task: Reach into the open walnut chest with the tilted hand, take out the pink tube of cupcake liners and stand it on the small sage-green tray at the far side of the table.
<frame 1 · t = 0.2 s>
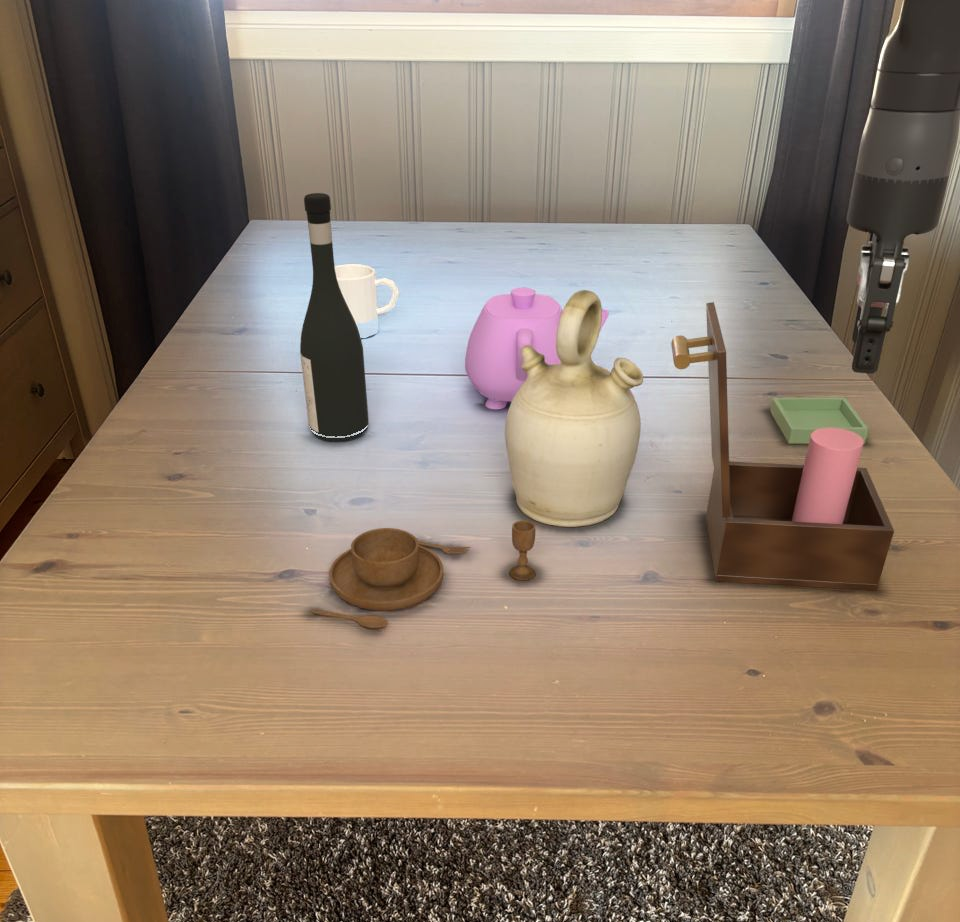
hand: (863, 356, 91), 23 cm above the table, tool pointing down, fingers open, 8 cm apart
chest lid: (699, 411, 99), point 16 cm above the table, hinge at 100.0°
tray: (816, 427, 133), on the table
place setting: (423, 592, 102), on the table
wine bottle: (339, 433, 132), on the table
jug: (567, 503, 117), on the table
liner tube: (811, 547, 107), point 1 cm above the table, touching chest
mug: (366, 333, 163), on the table
teapot: (534, 400, 141), on the table
chest: (786, 551, 108), on the table
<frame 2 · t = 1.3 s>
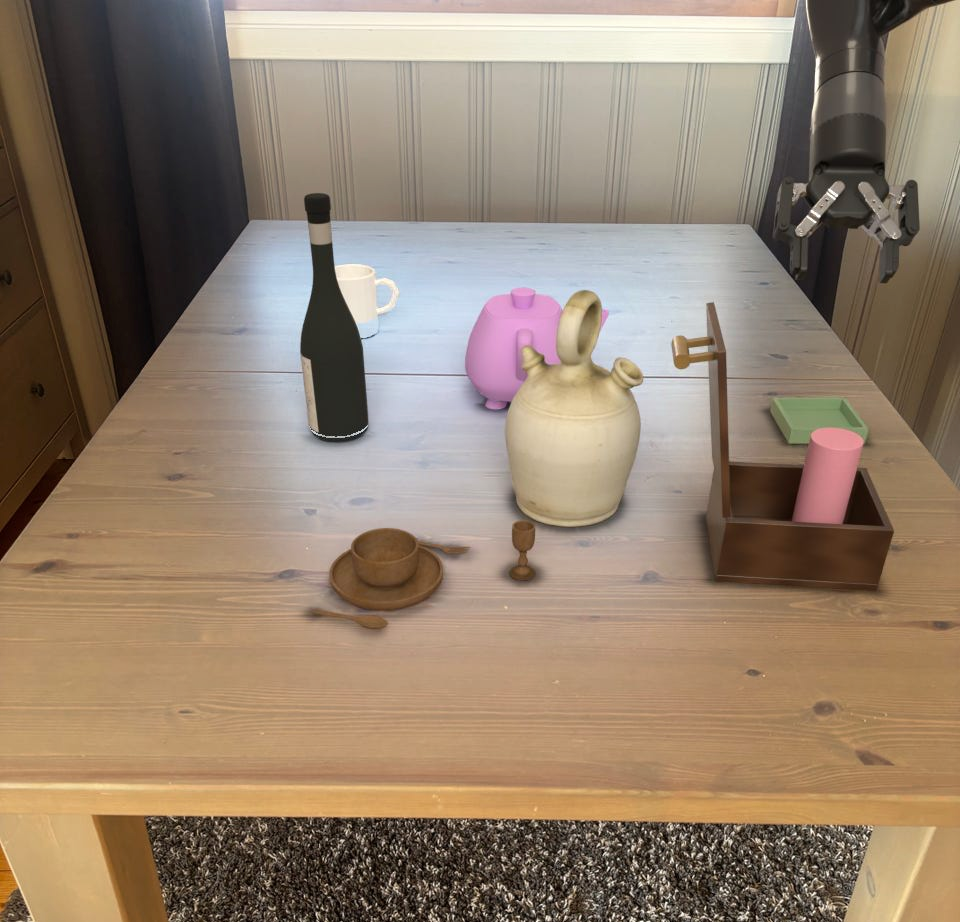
hand: (843, 278, 101), 26 cm above the table, tool tilted 45°, fingers open, 8 cm apart
nothing on the table moved.
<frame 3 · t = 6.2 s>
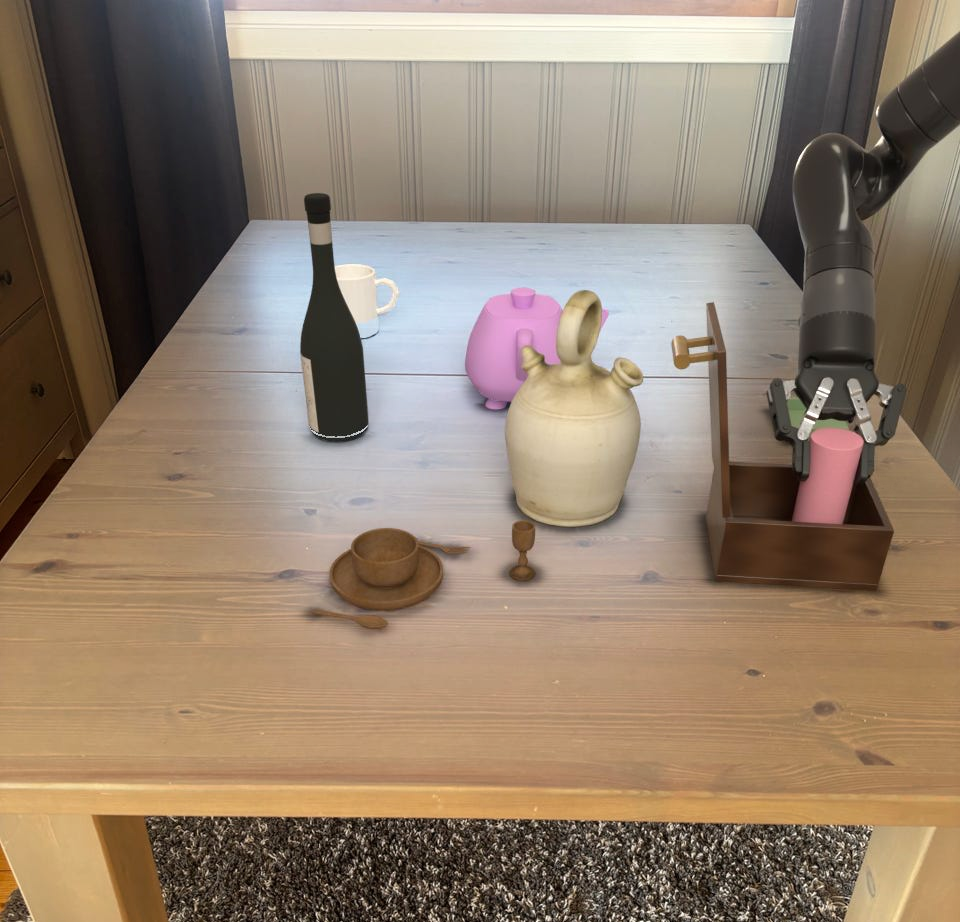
hand: (832, 480, 100), 10 cm above the table, tool tilted 45°, fingers closed on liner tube, 5 cm apart
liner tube: (811, 546, 107), point 1 cm above the table, touching chest, gripper
everything else where it was.
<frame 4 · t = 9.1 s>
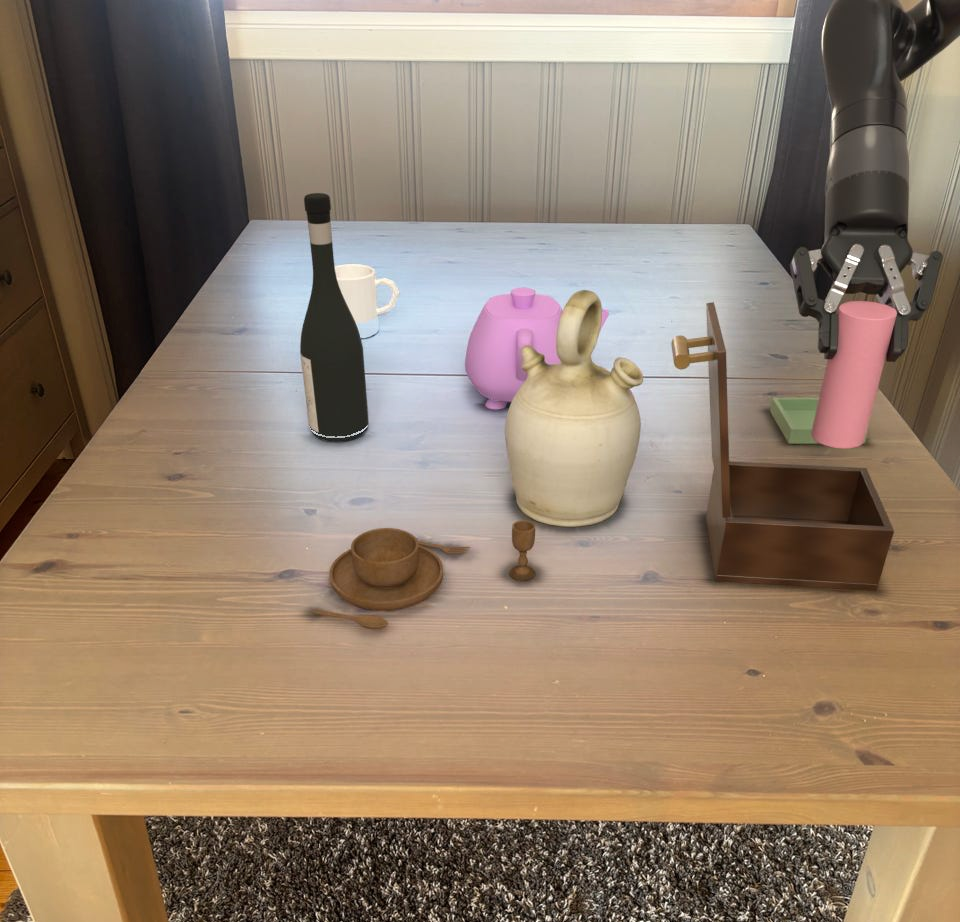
hand: (862, 356, 92), 23 cm above the table, tool tilted 45°, fingers closed on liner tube, 5 cm apart
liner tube: (837, 437, 99), point 14 cm above the table, touching gripper
everything else where it was.
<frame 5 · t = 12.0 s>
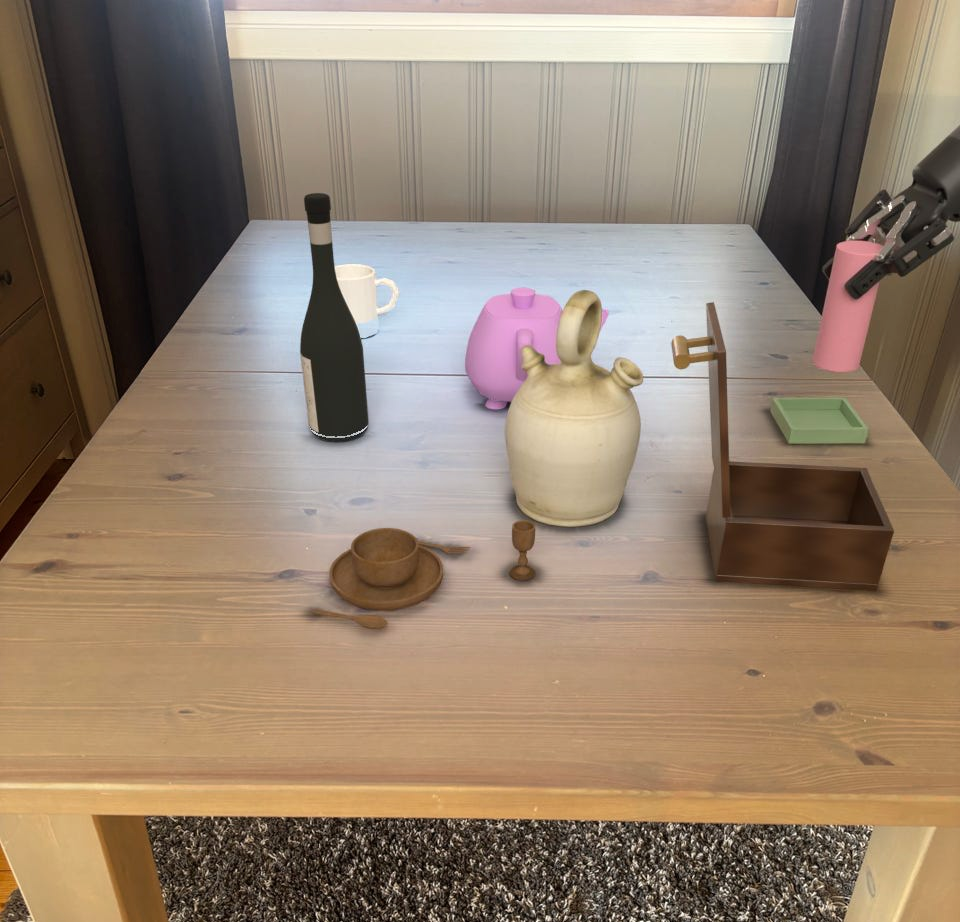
hand: (838, 284, 107), 24 cm above the table, tool tilted 45°, fingers closed on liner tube, 5 cm apart
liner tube: (835, 363, 113), point 15 cm above the table, touching gripper
everything else where it was.
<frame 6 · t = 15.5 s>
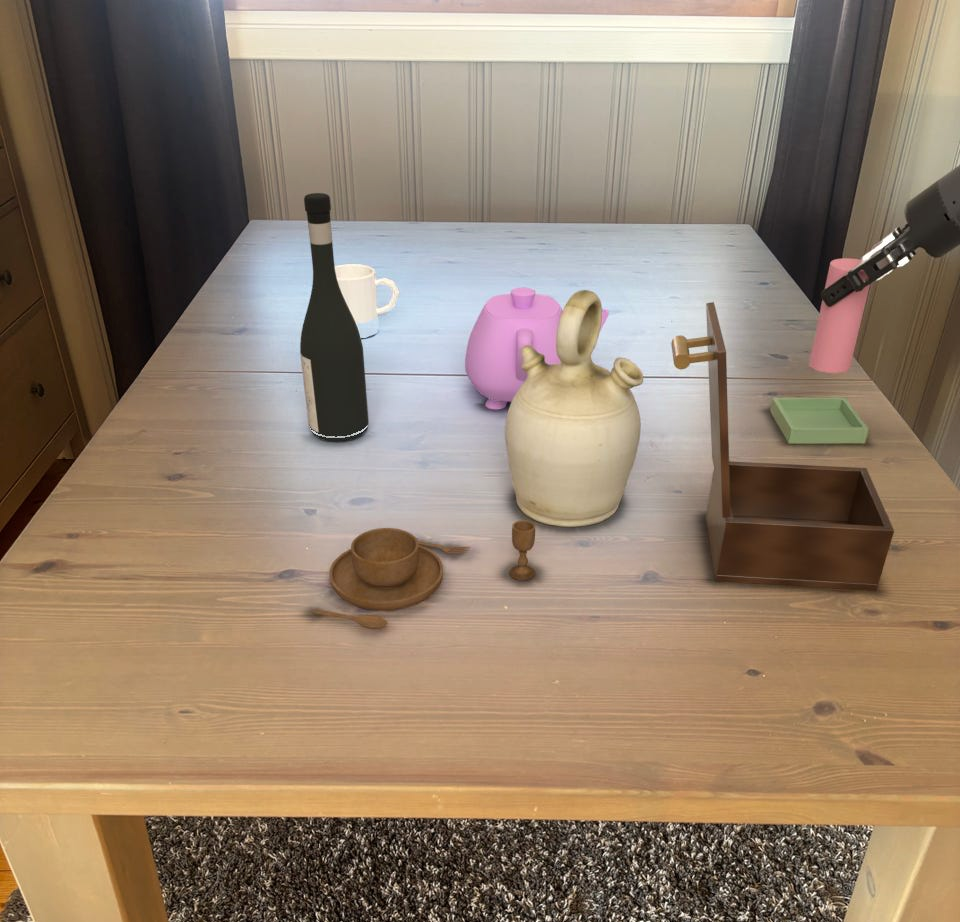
hand: (831, 293, 123), 18 cm above the table, tool tilted 45°, fingers closed on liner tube, 5 cm apart
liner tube: (829, 365, 128), point 9 cm above the table, touching gripper
everything else where it was.
when the fingers open (10 cm above the table, at t = 18.2 s): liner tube stays where it is, resting on tray.
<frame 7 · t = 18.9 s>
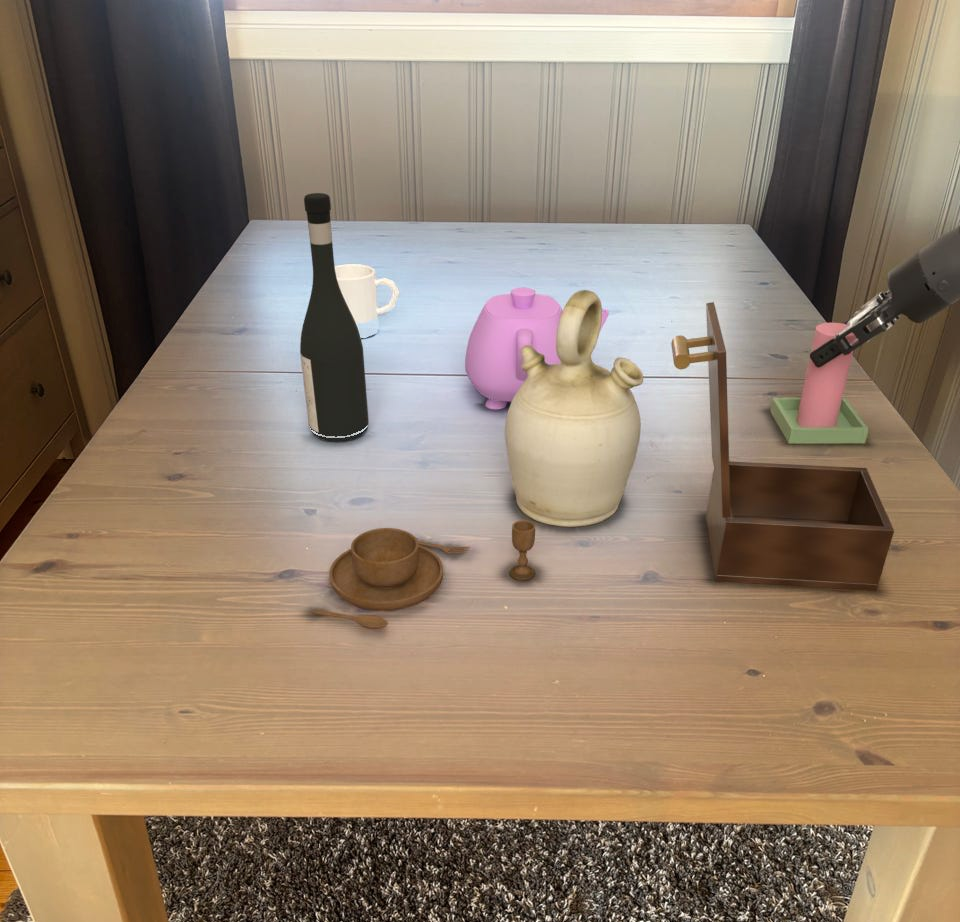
hand: (822, 350, 127), 10 cm above the table, tool tilted 45°, fingers open, 8 cm apart
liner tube: (815, 423, 133), resting on tray
everything else where it was.
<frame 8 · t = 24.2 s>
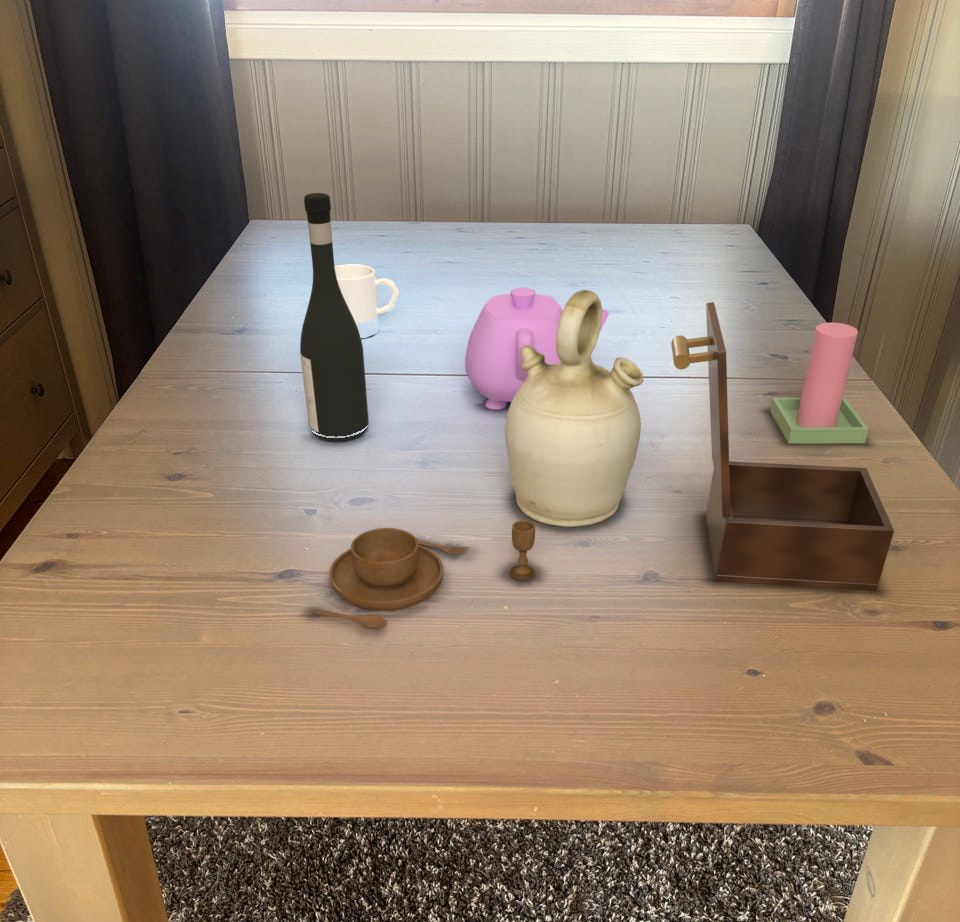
nothing on the table moved.
at the end: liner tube inside the target area in the tray (0.1 cm from its centre), point 0.5 cm above the tray's base; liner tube tilted 0° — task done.
